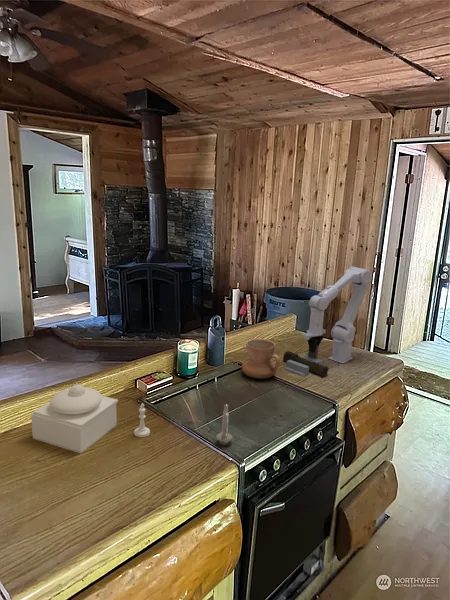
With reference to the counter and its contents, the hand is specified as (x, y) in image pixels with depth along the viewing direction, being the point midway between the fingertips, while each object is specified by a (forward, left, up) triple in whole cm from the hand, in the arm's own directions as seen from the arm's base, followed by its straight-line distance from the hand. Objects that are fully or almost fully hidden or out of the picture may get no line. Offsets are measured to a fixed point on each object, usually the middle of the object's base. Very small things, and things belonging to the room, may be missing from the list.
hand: (313, 351), depth 197 cm
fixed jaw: (+12, 0, -6) cm, 13 cm away
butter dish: (+105, -18, -7) cm, 107 cm away
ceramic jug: (+28, -8, -7) cm, 30 cm away
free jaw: (+1, 0, -6) cm, 6 cm away
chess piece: (+91, -4, -6) cm, 91 cm away
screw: (+76, +17, -6) cm, 78 cm away
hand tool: (+7, 0, -7) cm, 10 cm away
